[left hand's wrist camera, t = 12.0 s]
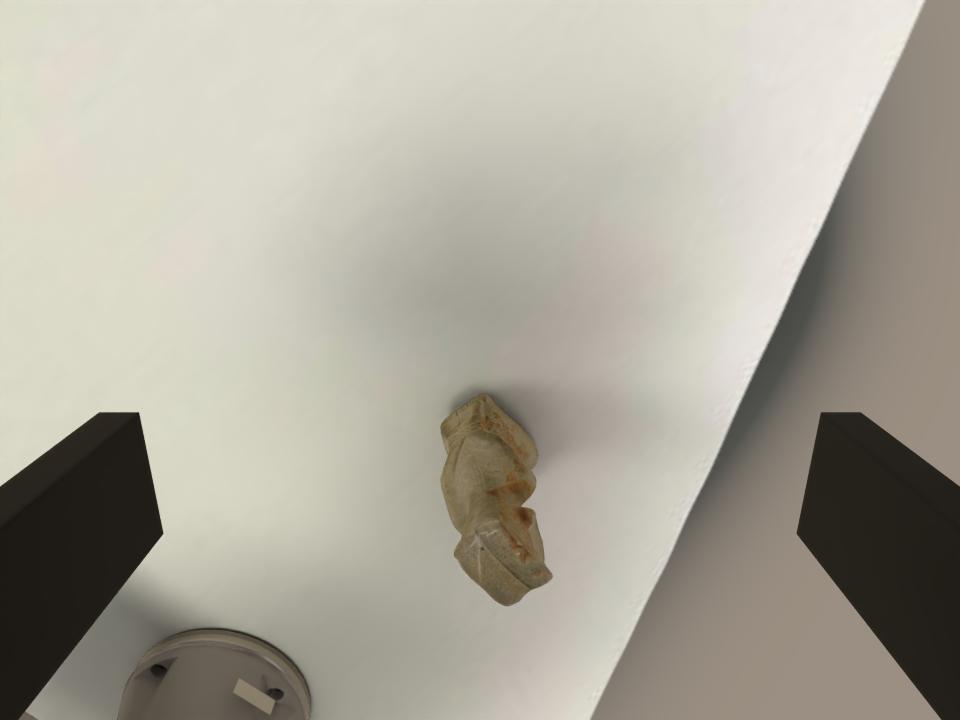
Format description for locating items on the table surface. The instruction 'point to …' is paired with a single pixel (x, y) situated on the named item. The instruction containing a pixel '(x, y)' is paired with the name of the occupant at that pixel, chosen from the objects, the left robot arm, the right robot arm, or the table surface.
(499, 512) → the sculpture
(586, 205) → the table surface
